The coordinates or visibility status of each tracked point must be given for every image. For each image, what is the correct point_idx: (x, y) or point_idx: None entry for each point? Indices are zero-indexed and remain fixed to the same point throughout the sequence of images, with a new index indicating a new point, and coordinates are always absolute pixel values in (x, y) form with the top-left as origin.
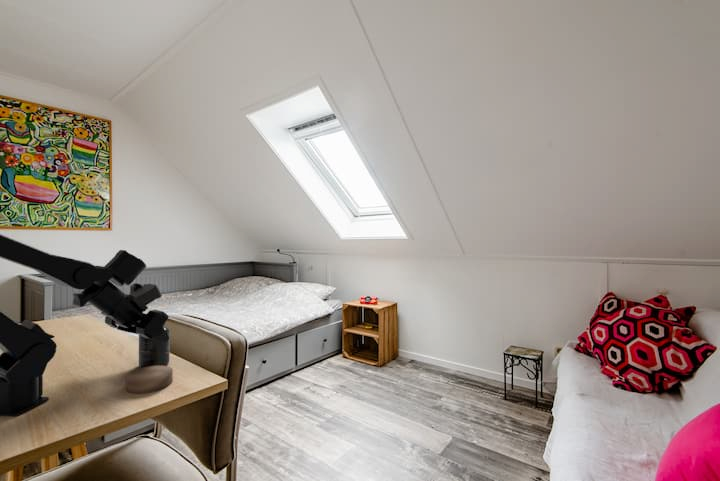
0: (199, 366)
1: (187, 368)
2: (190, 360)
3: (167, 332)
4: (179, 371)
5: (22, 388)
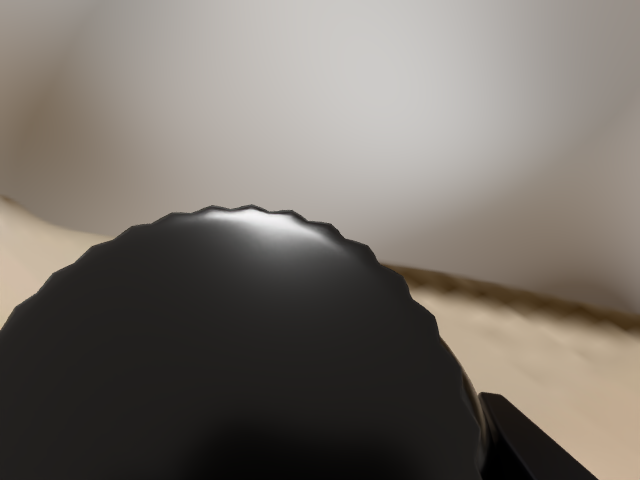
0: (624, 336)
1: (598, 402)
2: (462, 288)
3: (467, 376)
4: (616, 477)
5: None
